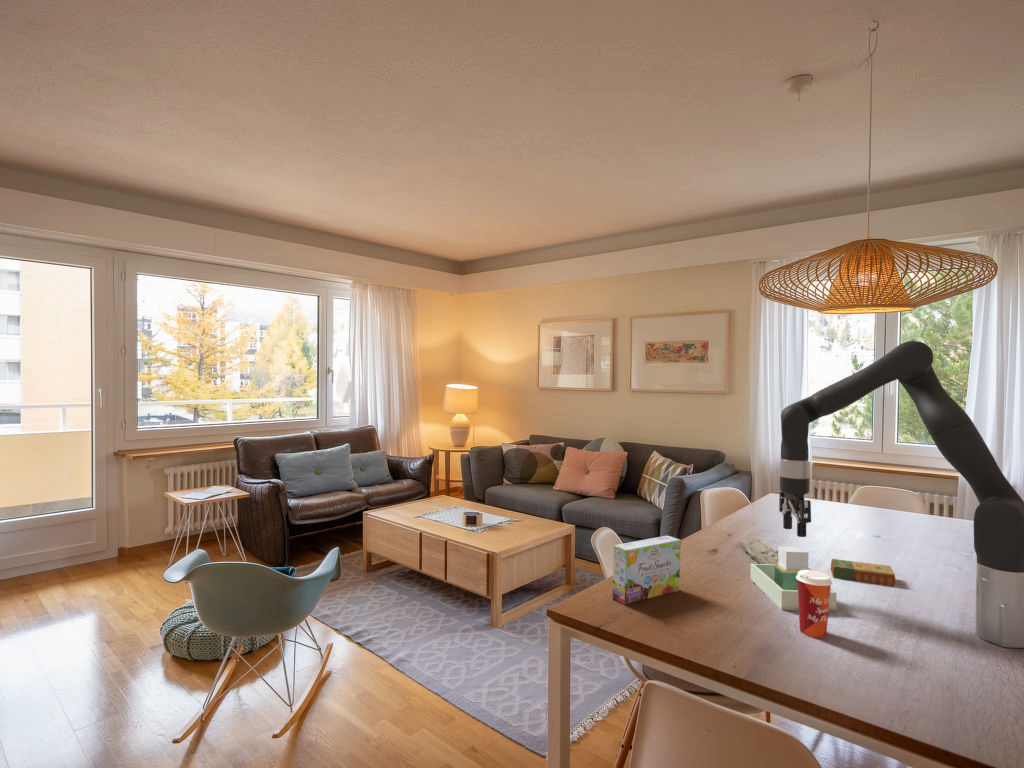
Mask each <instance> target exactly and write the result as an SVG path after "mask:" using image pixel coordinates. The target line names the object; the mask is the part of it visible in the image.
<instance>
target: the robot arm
mask: <svg viewBox="0 0 1024 768" xmlns="http://www.w3.org/2000/svg"><path fill="white" fill-rule="evenodd" d="M933 363H934V353H933V350H932V348H931V347H930V346H928V345H927V343H924V342H922V341H916V340H909V341H905V342H904V341H903V342H902V343H900V344H899V345H897V346H895V347H894V348H893V349H892V350H889V352H888V353H886V354H884V355H883V356H882V357H880V358H879V359H877V360H876V361H874V362H872V363H870V364H869V365H867V366H866V367H864V368H862V369H860V370H859V371H857V372H854V373H853V374H851V375H849V376H848V375H847V376H846V377H844V378H843V379H840V380H839V381H836V382H834V383H833V384H830V385H828V386H826V387H824V388H822V389H820V390H818V391H816V392H815V393H813V394H812V395H810V396H808V397H805V398H803V399H800V400H798V401H796V402H793V403H792V404H789V405H788V406H786V407H784V409H783V410H782V411H781V414H780V422H781V444H780V463H779V503H778V505H779V506H778V507H779V508H778V510H779V512H780V513H781V515H782V516H783V519H782V521H783V523H782V524H783V525H782V528H783V529H784V530H791V529H793V516H794V517H795V519H796V536H797V537H799V538H806V537H807V524H808V523H812V505H811V504H812V503H811V500H809V499H807V500H805V495H807V494H809V493H810V465H809V464H810V462H809V442H808V439H809V428H810V423H813V422H814V421H816V420H819V419H820V418H822V417H826V416H827V417H828V416H830V415H832V414H834V413H836V412H838V411H841V410H842V409H845V408H847V407H849V406H851V405H852V404H854V403H856V402H858V401H859V400H861V399H863V398H864V397H866V396H867V395H869V394H871V393H872V392H873V391H876V390H877V389H879V388H881V387H883V386H885V385H887V384H889V383H892V382H894V381H897V380H898V382H899V383H900V384H901V386H902V387H903V389H905V391H906V392H907V394H908V395H909V397H910V398H911V400H912V401H913V403H914V405H915V407H916V409H917V412H918V414H919V416H920V418H921V420H922V422H923V424H924V426H925V428H926V430H927V431H928V434H929V436H930V438H931V439H932V441H933V443H934V444H935V446H936V447H937V449H938V451H939V452H940V454H941V455H942V456H943V457H944V459H945V460H946V461H947V462H948V463H949V464H950V465H951V466H952V467H953V468H954V469H955V471H957V472H958V473H959V474H960V475H961V476H962V477H963V479H964V480H965V481H966V482H967V483H968V485H969V486H970V488H971V489H972V492H973V493H974V494H975V497H976V499H977V501H978V503H979V505H977V507H976V509H975V510H974V514H973V549H974V552H975V554H976V569H975V570H976V572H975V574H976V576H975V577H976V578H975V585H976V586H975V625H974V626H975V627H974V629H975V631H974V632H975V635H976V636H978V638H980V639H982V640H984V641H986V642H989V643H992V644H995V645H998V646H1000V647H1002V648H1016V649H1017V648H1018V649H1019V648H1021V649H1024V500H1023V498H1022V496H1020V495H1019V493H1018V492H1017V491H1016V490H1015V488H1014V487H1013V485H1012V484H1011V483H1010V482H1009V481H1008V479H1007V478H1006V476H1005V475H1004V473H1003V472H1002V471H1001V468H1000V467H999V465H998V463H997V461H996V459H995V457H994V456H993V454H992V452H991V450H990V449H989V447H988V445H987V444H986V442H985V440H984V438H983V437H982V435H981V433H980V432H979V430H978V429H977V427H976V426H975V424H974V422H973V420H972V419H971V417H970V416H969V414H967V412H966V411H965V410H964V409H963V408H962V406H960V405H959V403H957V402H956V401H955V399H953V398H952V397H951V395H949V393H948V392H947V391H946V390H945V388H944V387H943V386H942V384H941V382H940V380H939V378H938V376H937V374H936V372H935V370H934V367H933Z"/></svg>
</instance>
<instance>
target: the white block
mask: <svg viewBox="0 0 1024 768" xmlns="http://www.w3.org/2000/svg"><path fill="white" fill-rule="evenodd" d="M777 551H778V564H779V565H780V566H782V567H783V568H784V569H786V570H808V568H809V551H808V550H806V549H804V548H802V547H800V546H778V549H777Z"/></svg>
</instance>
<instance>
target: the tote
mask: <svg viewBox="0 0 1024 768" xmlns="http://www.w3.org/2000/svg"><path fill="white" fill-rule="evenodd" d="M774 578H775V566H774V564H758V563H750V579H751V580H752V581H753V582H754V583H755V584H756V585H757V586H758V587H759V588H760V589H761V590H762V591H763V592H764V593H765V594H764V593H763V592H762V591H761V590H760V589H759V588H758V587H757V586H756V585H755V584H754V583H753V582H752V581H751V580H750V579H749V580H750V581H751V582H752V583H753V584H754V585H755V586H756V587H757V588H758V589H759V590H760V591H761V592H762V593H763V594H764V595H765V596H767V597H768V599H770V600H771V601H772V602H773V603H774V604H775V605H776V606H777V608H779V609H780V610H782V611H799V604H798V590H783V589H782V588H781V587H780V586H779V585H777V584H776V583H775V582H774ZM837 596H838V595H837V592H836V591H835V590H833V588H831V587H830V599H829V611H828V613H829V612H834V613H837Z"/></svg>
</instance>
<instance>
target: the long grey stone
mask: <svg viewBox="0 0 1024 768" xmlns="http://www.w3.org/2000/svg"><path fill="white" fill-rule="evenodd" d="M739 546H740V547H741V548H742V550H743V552H745V553H746V552H747V553H746V554H748V556H749V555H750V556H749V557H750V558H751V559H752V558H753V559H752V560H755V562H756V564H758V563H759V564H774V563H775V564H778V550H774V549H772V548H771V547H769V546H767V545H766V544H764V543H763V542H762V541H761V540H760V539H756V538H754V537H753V538H749V537H747V538H743V539H741V540H740V543H739Z"/></svg>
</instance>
